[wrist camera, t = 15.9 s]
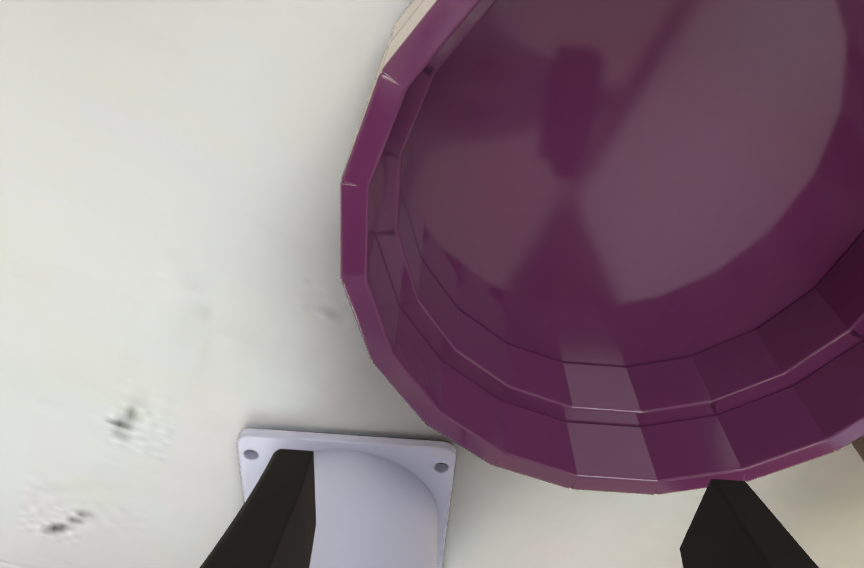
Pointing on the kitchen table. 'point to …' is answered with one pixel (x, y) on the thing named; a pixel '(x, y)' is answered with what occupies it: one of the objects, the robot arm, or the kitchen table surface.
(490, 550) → the kitchen table surface
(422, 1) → the bowl
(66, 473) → the kitchen table surface
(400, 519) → the robot arm
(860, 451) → the eraser
